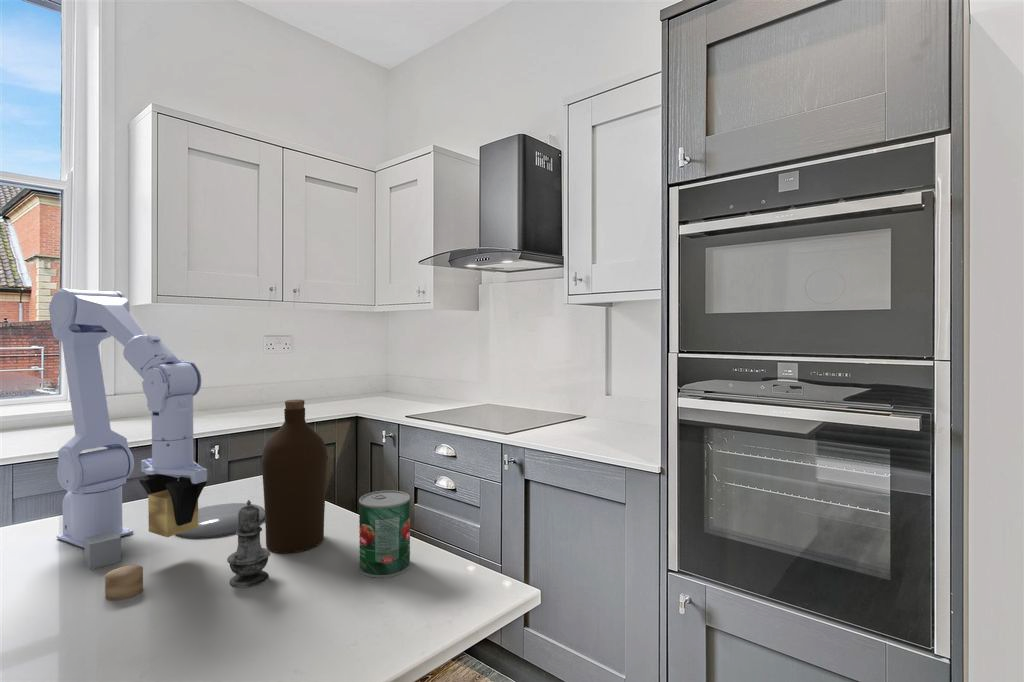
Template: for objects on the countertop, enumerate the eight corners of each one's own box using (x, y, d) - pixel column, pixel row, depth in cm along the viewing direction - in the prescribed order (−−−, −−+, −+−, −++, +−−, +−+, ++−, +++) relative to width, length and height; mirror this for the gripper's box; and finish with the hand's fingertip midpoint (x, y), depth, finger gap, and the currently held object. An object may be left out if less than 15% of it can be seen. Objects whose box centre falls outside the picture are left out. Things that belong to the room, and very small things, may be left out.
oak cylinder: (98, 596, 77) (98, 575, 77) (132, 583, 81) (132, 563, 80) (116, 603, 75) (115, 582, 75) (149, 589, 79) (149, 569, 78)
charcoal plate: (151, 527, 102) (151, 522, 102) (230, 503, 116) (230, 498, 116) (205, 544, 95) (205, 538, 95) (282, 515, 109) (282, 511, 109)
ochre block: (148, 531, 88) (148, 494, 87) (179, 521, 92) (179, 486, 92) (167, 537, 85) (166, 499, 85) (198, 527, 90) (198, 490, 90)
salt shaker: (253, 590, 78) (253, 507, 78) (217, 586, 80) (217, 504, 79) (278, 572, 84) (278, 495, 84) (245, 568, 85) (244, 492, 85)
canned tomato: (420, 566, 87) (420, 497, 86) (377, 583, 81) (377, 509, 81) (391, 551, 92) (391, 487, 92) (349, 566, 86) (349, 497, 86)
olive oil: (292, 560, 89) (291, 406, 88) (248, 547, 93) (247, 402, 93) (340, 537, 98) (340, 399, 97) (297, 527, 103) (297, 395, 102)
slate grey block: (84, 562, 87) (84, 537, 87) (114, 554, 90) (114, 530, 90) (90, 569, 85) (89, 544, 85) (121, 561, 88) (120, 537, 88)
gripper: (120, 437, 88) (121, 520, 88) (175, 447, 81) (175, 537, 82) (165, 429, 94) (166, 507, 95) (219, 438, 88) (219, 522, 88)
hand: (173, 520), depth 89 cm, fingers closed on ochre block, 5 cm apart
